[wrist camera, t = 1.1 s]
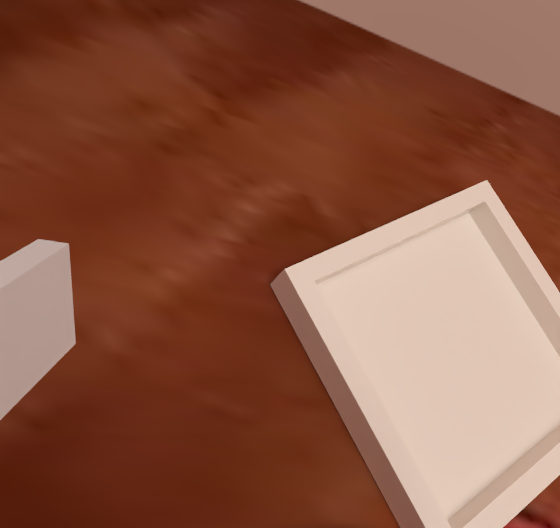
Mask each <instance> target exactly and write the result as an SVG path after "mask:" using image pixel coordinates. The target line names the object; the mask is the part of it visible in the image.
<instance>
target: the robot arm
mask: <svg viewBox="0 0 560 528" xmlns="http://www.w3.org/2000/svg"><path fill="white" fill-rule="evenodd" d="M75 344H76V341H75V326H74V312H73V297H72V283H71V268H70V254H69V244H67V243H61V242H54V241H48V240H41V239H38V240H36V241H34V242H33V243H31V244H29V245H27V246H26V247H24V248H22V249H21V250H19V251H17V252H16V253H14V254H12V255H10V256H9V257H7V258H5V259H4V260H2V261H0V420H1V419H2V418H3V417H4V416H5V415H6V414H7V413H8V412H9V411H10V410H11V409H12V408H13V407H14V406H15V405H16V404H17V403H18V402H19V401H20V400H21V399H22V398H23V397H24V396H25V394H26V393H27V392H28V391H29V390H30V389H31V388H32V387H33V386H34V385H35V384H36V383H37V382H38V381H39V380H40V379H41V378H42V377H43V376H44V375H45V374H46V373H47V372H48V371H49V370H50V369H51V368H52V367H53V366H54V365H55V364H56V363H57V362H58V361H59V360H60V359H61V358H62V357H63V356H64V355H65V354H66V353H67V352H68V351H69V350H70V349H71V348H72V347H73V346H74V345H75Z"/></svg>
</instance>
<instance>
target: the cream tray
mask: <svg viewBox="0 0 560 528" xmlns="http://www.w3.org/2000/svg"><path fill="white" fill-rule="evenodd" d="M270 286H271V287H272V289H273V291H274V293H275V295H276V297H277V299H278V301H279V302H280V304H281V306H282V308H283V310H284V312H285V314H286V315H287V317H288V319H289V321H290V323H291V325H292V327H293V329H294V330H295V332H296V334H297V336H298V338H299V340H300V342H301V343H302V345H303V347H304V349H305V351H306V353H307V355H308V356H309V358H310V360H311V362H312V364H313V366H314V368H315V370H316V371H317V373H318V375H319V377H320V379H321V381H322V383H323V384H324V386H325V388H326V390H327V392H328V394H329V396H330V398H331V399H332V401H333V403H334V405H335V407H336V409H337V411H338V412H339V414H340V416H341V418H342V420H343V422H344V424H345V426H346V427H347V429H348V431H349V433H350V435H351V437H352V439H353V440H354V442H355V444H356V446H357V448H358V450H359V452H360V453H361V455H362V457H363V459H364V461H365V463H366V465H367V467H368V468H369V470H370V472H371V474H372V476H373V478H374V480H375V481H376V483H377V485H378V487H379V489H380V491H381V493H382V495H383V496H384V498H385V500H386V502H387V504H388V506H389V508H390V509H391V511H392V513H393V515H394V517H395V519H396V521H397V523H398V524H399V526H400V528H503V527H504V526H505V525H506V524H507V523H508V522H509V521H510V520H511V519H513V518H514V517H515V516H516V515H517V514H518V513H519V512H520V511H521V510H522V509H523V508H524V507H525V506H527V505H528V504H529V503H530V502H531V501H532V500H533V499H534V498H535V497H536V496H537V495H538V494H539V493H541V492H542V491H543V490H544V489H545V488H546V487H547V486H548V485H549V484H550V483H551V482H552V481H553V480H555V479H556V478H557V477H558V476H559V475H560V292H559V291H558V289H557V288H556V286H555V285H554V283H553V282H552V280H551V278H550V277H549V275H548V274H547V272H546V271H545V269H544V268H543V266H542V264H541V263H540V261H539V260H538V258H537V257H536V255H535V254H534V252H533V251H532V249H531V247H530V246H529V244H528V243H527V241H526V240H525V238H524V237H523V235H522V233H521V232H520V230H519V229H518V227H517V226H516V224H515V223H514V221H513V220H512V218H511V216H510V215H509V213H508V212H507V210H506V209H505V207H504V206H503V204H502V202H501V201H500V199H499V198H498V196H497V195H496V193H495V192H494V190H493V189H492V187H491V185H490V184H489V182H488V181H487V180H486V181H483V182H481V183H479V184H477V185H474V186H472V187H470V188H468V189H465V190H463V191H461V192H459V193H456V194H454V195H452V196H449V197H447V198H445V199H443V200H440V201H438V202H436V203H434V204H431V205H429V206H427V207H424V208H422V209H420V210H418V211H415V212H413V213H411V214H409V215H406V216H404V217H402V218H399V219H397V220H395V221H393V222H390V223H388V224H386V225H384V226H381V227H379V228H377V229H374V230H372V231H370V232H368V233H365V234H363V235H361V236H359V237H356V238H354V239H352V240H349V241H347V242H345V243H343V244H340V245H338V246H336V247H334V248H331V249H329V250H327V251H325V252H322V253H320V254H318V255H315V256H313V257H311V258H309V259H306V260H304V261H302V262H300V263H297V264H295V265H293V266H290V267H288V268H286V269H284V270H283V271H282V272H281V273H280V274H279V275H278V276H277V277H276V278H275V279H274V281H273V282H272V283H271V284H270Z"/></svg>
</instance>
